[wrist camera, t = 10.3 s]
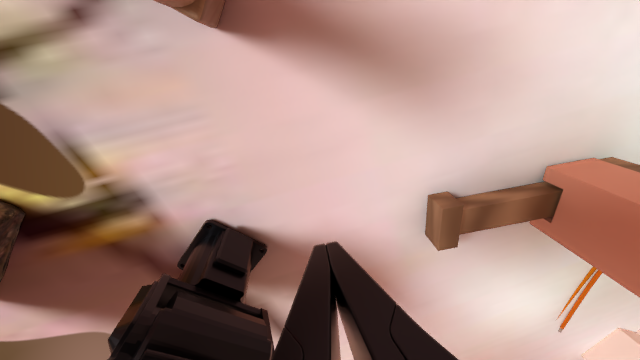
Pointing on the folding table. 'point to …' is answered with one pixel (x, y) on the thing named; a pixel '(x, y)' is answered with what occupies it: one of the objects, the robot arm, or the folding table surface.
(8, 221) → the stone block
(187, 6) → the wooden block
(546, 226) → the block
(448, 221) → the rail
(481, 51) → the folding table surface
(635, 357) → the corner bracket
